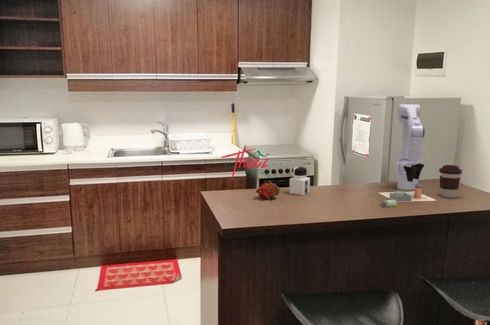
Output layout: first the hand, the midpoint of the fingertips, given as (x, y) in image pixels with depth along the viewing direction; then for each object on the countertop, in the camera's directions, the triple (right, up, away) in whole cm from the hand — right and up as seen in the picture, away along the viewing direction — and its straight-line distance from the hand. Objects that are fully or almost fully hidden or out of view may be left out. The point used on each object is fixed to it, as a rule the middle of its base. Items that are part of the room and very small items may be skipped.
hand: (413, 180), depth 200 cm
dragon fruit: (-68, -9, +4) cm, 68 cm away
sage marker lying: (-15, -11, -11) cm, 22 cm away
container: (-51, -7, +14) cm, 54 cm away
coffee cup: (+21, -8, +9) cm, 24 cm away
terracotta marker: (+3, -8, +3) cm, 9 cm away
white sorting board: (-1, -9, +5) cm, 10 cm away
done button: (-6, -8, -1) cm, 10 cm away
